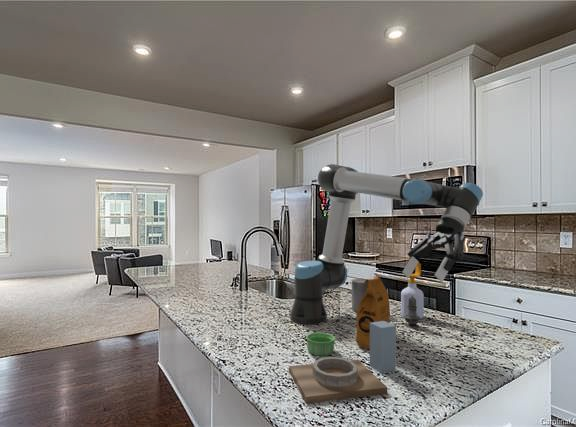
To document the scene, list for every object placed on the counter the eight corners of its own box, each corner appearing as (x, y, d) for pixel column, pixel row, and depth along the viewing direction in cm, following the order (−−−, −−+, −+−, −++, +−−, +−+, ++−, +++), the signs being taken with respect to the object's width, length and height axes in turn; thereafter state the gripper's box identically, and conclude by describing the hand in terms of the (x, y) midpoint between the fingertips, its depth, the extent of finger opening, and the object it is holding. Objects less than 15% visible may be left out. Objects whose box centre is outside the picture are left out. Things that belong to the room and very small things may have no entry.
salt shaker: (421, 329, 126) (421, 297, 126) (405, 328, 127) (405, 296, 127) (418, 324, 132) (418, 294, 132) (403, 323, 133) (403, 293, 133)
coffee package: (350, 346, 108) (351, 278, 109) (366, 335, 118) (366, 273, 119) (380, 353, 102) (380, 281, 103) (394, 342, 112) (394, 276, 113)
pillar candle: (372, 308, 156) (372, 276, 156) (374, 313, 146) (373, 279, 146) (351, 307, 157) (351, 275, 158) (351, 313, 148) (351, 279, 148)
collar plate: (289, 371, 89) (289, 356, 89) (357, 365, 94) (358, 350, 94) (305, 403, 74) (306, 385, 74) (387, 393, 78) (387, 376, 78)
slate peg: (369, 365, 94) (369, 322, 94) (383, 362, 96) (384, 320, 96) (381, 373, 89) (381, 328, 89) (395, 370, 91) (396, 325, 91)
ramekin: (336, 347, 107) (336, 333, 108) (333, 358, 99) (333, 343, 99) (308, 344, 109) (308, 331, 110) (303, 355, 101) (304, 340, 101)
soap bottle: (397, 313, 147) (397, 257, 148) (417, 313, 148) (417, 257, 148) (406, 319, 138) (406, 260, 139) (427, 319, 139) (427, 260, 139)
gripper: (495, 229, 96) (463, 288, 89) (430, 233, 119) (401, 280, 112) (479, 211, 94) (446, 271, 88) (416, 219, 117) (386, 266, 111)
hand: (420, 276), depth 100 cm, fingers open, 13 cm apart
